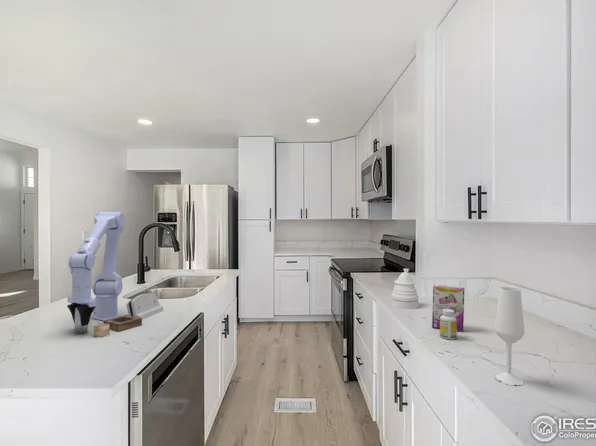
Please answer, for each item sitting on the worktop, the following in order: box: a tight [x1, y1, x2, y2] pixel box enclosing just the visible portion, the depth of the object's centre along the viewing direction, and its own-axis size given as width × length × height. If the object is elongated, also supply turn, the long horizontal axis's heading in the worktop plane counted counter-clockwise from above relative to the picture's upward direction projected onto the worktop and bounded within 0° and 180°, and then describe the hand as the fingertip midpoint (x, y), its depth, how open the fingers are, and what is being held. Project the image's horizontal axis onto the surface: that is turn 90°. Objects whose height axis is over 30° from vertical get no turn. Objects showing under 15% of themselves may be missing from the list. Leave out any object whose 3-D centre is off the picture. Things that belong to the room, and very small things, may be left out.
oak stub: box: [93, 323, 111, 338], centre depth 120 cm, size 5×5×4 cm
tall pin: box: [74, 307, 89, 335], centre depth 123 cm, size 4×4×9 cm
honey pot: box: [390, 268, 419, 310], centre depth 168 cm, size 13×13×18 cm
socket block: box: [102, 314, 143, 333], centre depth 130 cm, size 10×10×3 cm
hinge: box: [126, 292, 164, 321], centre depth 147 cm, size 17×5×10 cm, turn 168°
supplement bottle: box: [439, 309, 457, 340], centre depth 122 cm, size 5×5×10 cm
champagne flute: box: [494, 286, 525, 384], centre depth 89 cm, size 7×7×24 cm
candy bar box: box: [431, 284, 465, 332], centre depth 132 cm, size 11×5×16 cm, turn 65°
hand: (81, 324), depth 123 cm, fingers closed on tall pin, 4 cm apart
